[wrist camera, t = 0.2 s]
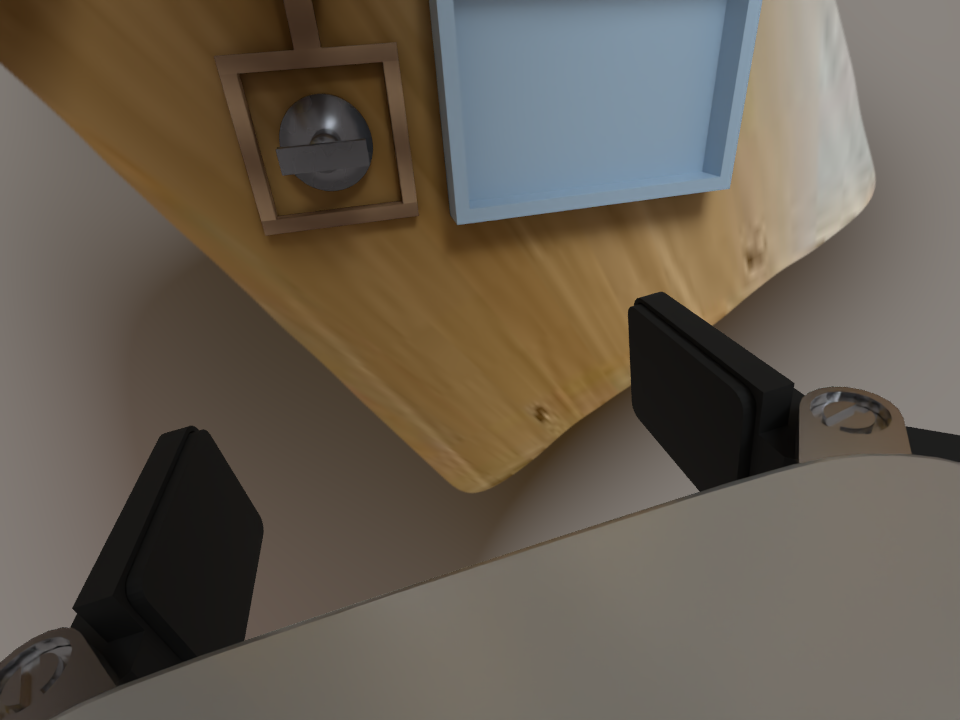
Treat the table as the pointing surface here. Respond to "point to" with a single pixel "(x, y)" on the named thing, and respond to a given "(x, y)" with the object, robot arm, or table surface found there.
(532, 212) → the tray
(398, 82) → the square frame with stem
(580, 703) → the robot arm
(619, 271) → the table surface
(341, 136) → the lever door handle
